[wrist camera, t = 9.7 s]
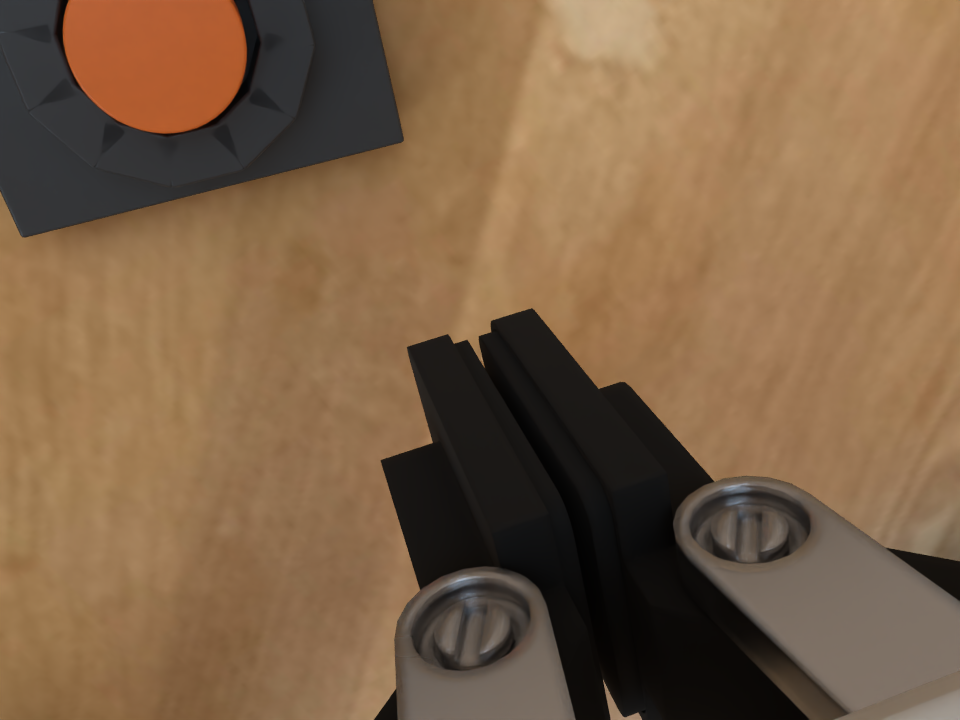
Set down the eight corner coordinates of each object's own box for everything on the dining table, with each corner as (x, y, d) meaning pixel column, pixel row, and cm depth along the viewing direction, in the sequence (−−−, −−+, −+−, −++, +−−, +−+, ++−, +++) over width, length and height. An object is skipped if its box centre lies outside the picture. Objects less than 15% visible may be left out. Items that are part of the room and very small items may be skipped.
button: (215, -68, 19) (215, -67, 18) (264, 97, 21) (268, 111, 20) (46, -33, 19) (32, -28, 17) (111, 134, 21) (102, 152, 19)
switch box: (316, -197, 22) (335, -217, 18) (390, 125, 26) (418, 158, 22) (-110, -114, 21) (-175, -119, 17) (36, 214, 24) (6, 263, 21)
